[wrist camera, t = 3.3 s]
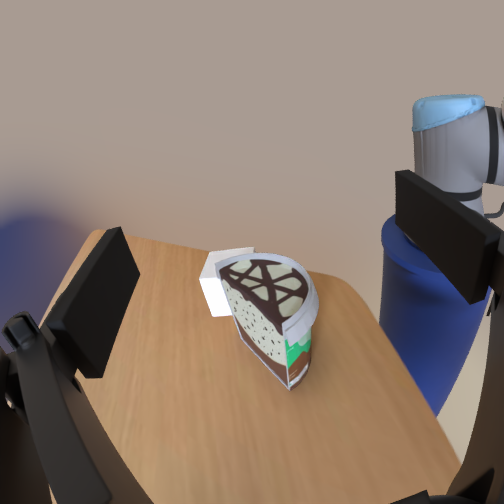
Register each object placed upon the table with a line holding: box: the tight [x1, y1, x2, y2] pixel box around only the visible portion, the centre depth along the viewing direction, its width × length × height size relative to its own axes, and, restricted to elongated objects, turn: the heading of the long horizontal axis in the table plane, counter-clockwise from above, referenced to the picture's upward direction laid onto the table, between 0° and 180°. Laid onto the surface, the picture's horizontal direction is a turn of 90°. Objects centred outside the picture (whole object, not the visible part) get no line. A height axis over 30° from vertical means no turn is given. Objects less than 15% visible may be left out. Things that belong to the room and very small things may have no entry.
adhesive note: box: [199, 247, 256, 316], centre depth 39 cm, size 6×6×6 cm
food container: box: [214, 253, 319, 391], centre depth 30 cm, size 12×6×10 cm, turn 32°
